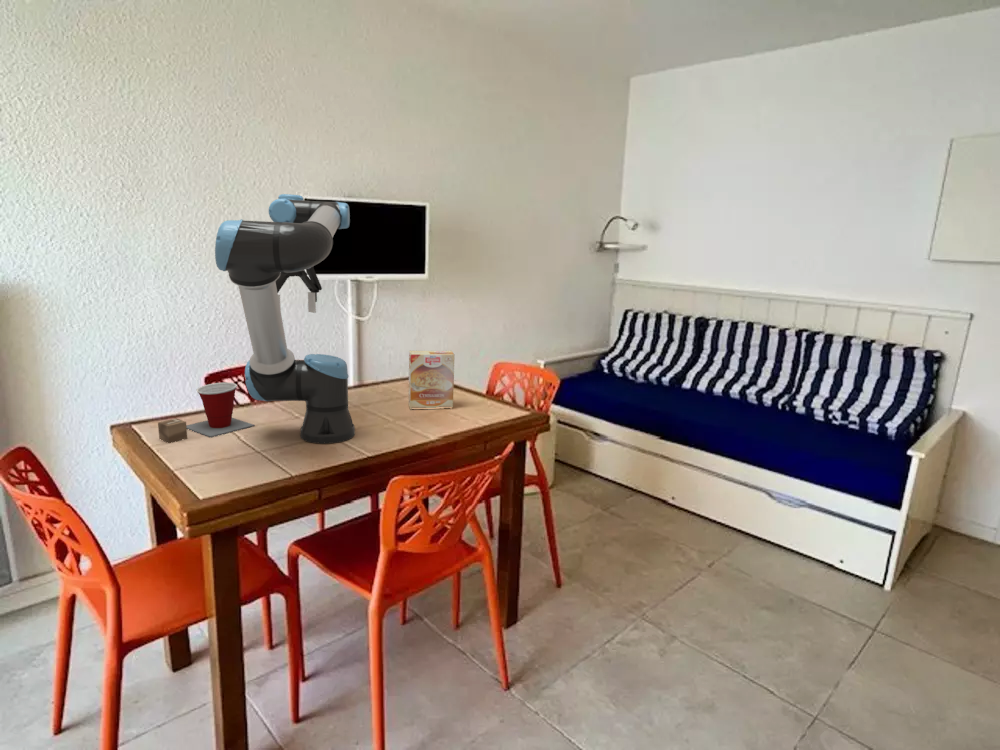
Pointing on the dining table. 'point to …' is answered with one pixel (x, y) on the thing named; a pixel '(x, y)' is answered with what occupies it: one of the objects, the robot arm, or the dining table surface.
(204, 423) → the mat
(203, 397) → the plastic cup
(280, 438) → the dining table surface
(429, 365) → the coffeecake box
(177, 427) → the letter block
